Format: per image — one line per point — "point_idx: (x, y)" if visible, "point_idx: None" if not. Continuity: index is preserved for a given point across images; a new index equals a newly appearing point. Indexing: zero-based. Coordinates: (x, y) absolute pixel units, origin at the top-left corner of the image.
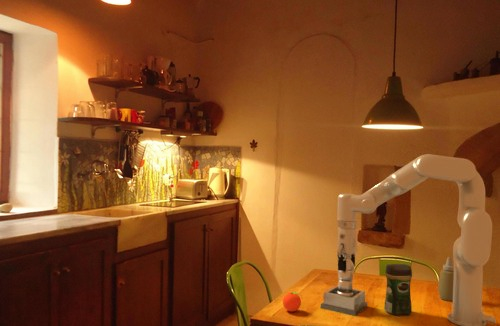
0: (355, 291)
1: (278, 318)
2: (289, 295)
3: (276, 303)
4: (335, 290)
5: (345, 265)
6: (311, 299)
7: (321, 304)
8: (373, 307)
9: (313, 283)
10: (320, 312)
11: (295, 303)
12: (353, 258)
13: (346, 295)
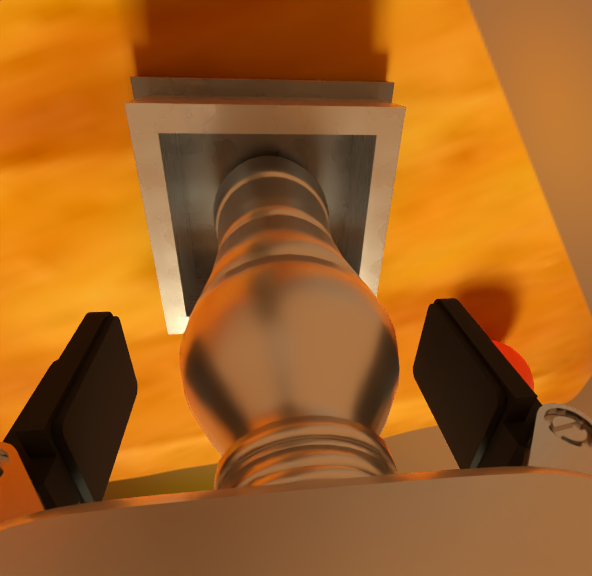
0: (167, 182)
1: (566, 348)
2: None
3: (402, 423)
4: None
5: (488, 346)
6: None
7: None
8: (124, 20)
9: None
10: (423, 261)
11: (522, 359)
12: (77, 410)
13: (323, 198)
